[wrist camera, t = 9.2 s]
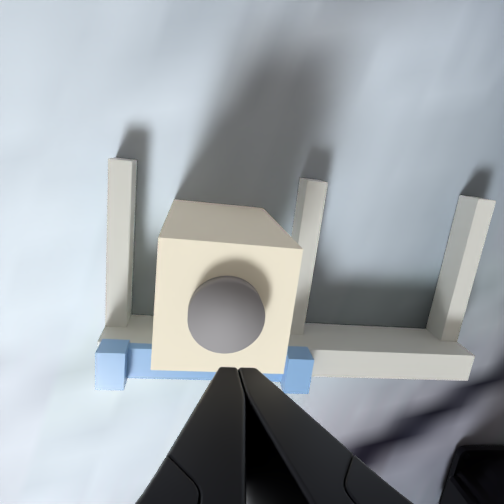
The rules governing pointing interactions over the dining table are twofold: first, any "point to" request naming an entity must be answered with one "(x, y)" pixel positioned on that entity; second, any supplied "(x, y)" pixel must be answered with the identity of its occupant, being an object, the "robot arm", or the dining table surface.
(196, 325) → the cream rectangular block
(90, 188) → the dining table surface
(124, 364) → the white post rack
